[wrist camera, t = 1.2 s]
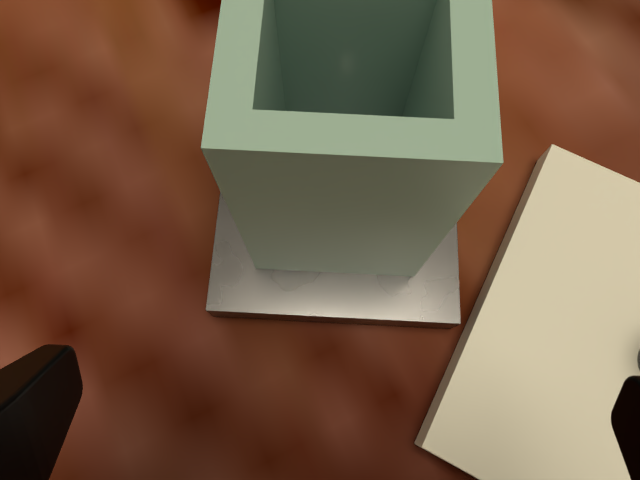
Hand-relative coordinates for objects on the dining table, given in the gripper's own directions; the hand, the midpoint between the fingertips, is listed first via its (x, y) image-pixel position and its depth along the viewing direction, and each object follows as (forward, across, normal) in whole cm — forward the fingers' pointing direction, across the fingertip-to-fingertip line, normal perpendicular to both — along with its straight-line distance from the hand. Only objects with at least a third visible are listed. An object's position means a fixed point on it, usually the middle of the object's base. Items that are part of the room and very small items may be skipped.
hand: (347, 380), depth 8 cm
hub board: (+10, -13, +8) cm, 18 cm away
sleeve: (+13, 0, +2) cm, 13 cm away
